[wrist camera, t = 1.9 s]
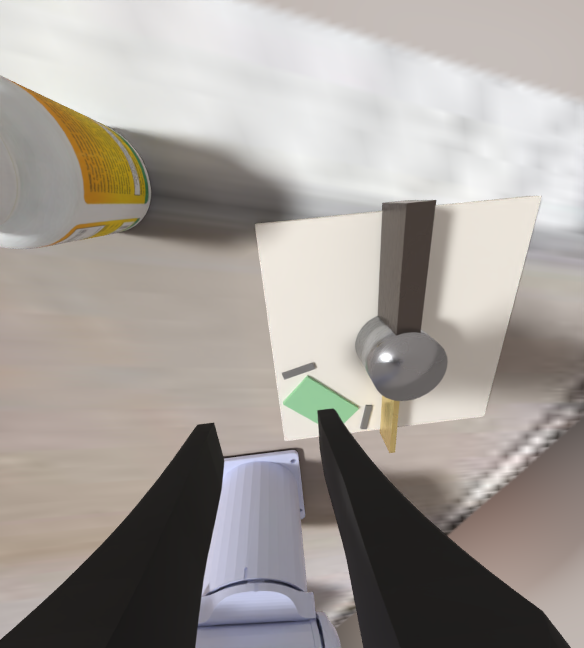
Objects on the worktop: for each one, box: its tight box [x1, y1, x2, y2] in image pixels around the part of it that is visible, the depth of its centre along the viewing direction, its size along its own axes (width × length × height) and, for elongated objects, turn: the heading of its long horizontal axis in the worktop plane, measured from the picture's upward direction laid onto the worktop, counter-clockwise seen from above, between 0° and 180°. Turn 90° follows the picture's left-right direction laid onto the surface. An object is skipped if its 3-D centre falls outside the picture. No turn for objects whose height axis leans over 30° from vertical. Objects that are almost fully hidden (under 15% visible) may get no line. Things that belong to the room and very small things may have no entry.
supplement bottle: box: [0, 76, 151, 249], centre depth 11 cm, size 5×5×10 cm
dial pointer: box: [355, 200, 448, 453], centre depth 17 cm, size 17×4×4 cm, turn 5°
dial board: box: [255, 196, 542, 441], centre depth 20 cm, size 17×17×1 cm
